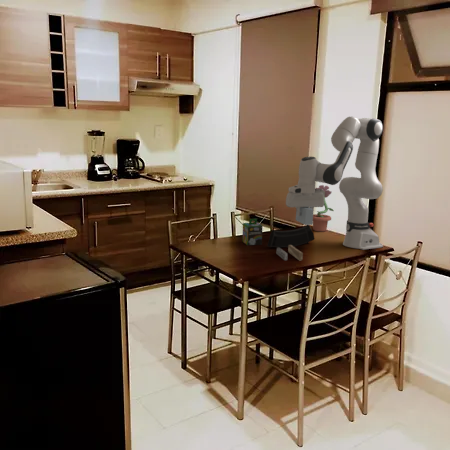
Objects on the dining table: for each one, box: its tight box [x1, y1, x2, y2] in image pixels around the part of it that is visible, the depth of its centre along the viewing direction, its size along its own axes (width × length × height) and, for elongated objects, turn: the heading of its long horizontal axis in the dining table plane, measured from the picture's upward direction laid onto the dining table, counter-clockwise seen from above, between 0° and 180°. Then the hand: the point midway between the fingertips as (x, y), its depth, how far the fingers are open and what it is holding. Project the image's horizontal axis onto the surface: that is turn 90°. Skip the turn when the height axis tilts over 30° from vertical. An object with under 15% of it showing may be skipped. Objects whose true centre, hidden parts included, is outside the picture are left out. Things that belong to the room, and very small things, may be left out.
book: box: [295, 207, 315, 226], centre depth 242 cm, size 4×12×8 cm, turn 15°
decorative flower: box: [312, 184, 334, 232], centre depth 303 cm, size 15×14×30 cm
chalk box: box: [242, 218, 263, 246], centre depth 270 cm, size 9×9×15 cm
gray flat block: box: [275, 247, 289, 261], centre depth 245 cm, size 2×12×4 cm, turn 14°
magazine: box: [267, 225, 315, 248], centre depth 266 cm, size 17×3×30 cm
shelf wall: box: [287, 245, 304, 262], centre depth 247 cm, size 2×16×4 cm, turn 14°
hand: (304, 215), depth 242 cm, fingers closed on book, 4 cm apart
